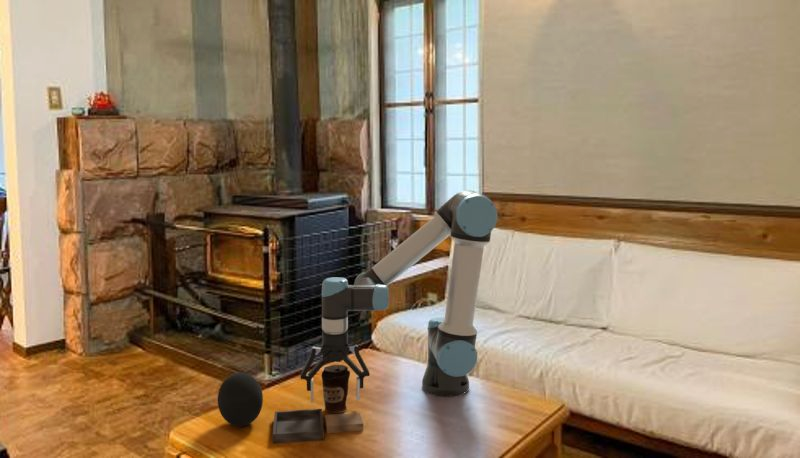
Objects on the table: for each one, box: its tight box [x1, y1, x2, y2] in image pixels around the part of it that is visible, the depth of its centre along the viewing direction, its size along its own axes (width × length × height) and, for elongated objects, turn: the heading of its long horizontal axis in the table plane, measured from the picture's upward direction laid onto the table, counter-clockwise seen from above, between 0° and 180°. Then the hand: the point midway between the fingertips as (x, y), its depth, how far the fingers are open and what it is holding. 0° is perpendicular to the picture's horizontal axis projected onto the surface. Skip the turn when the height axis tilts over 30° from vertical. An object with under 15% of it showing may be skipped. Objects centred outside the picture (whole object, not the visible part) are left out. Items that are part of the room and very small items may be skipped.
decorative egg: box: [217, 372, 264, 427], centre depth 183 cm, size 12×12×15 cm
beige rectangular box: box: [324, 412, 364, 434], centre depth 183 cm, size 10×7×2 cm
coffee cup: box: [321, 364, 351, 414], centre depth 193 cm, size 9×8×13 cm
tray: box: [272, 408, 325, 444], centre depth 181 cm, size 13×14×2 cm
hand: (335, 399), depth 194 cm, fingers open, 13 cm apart
